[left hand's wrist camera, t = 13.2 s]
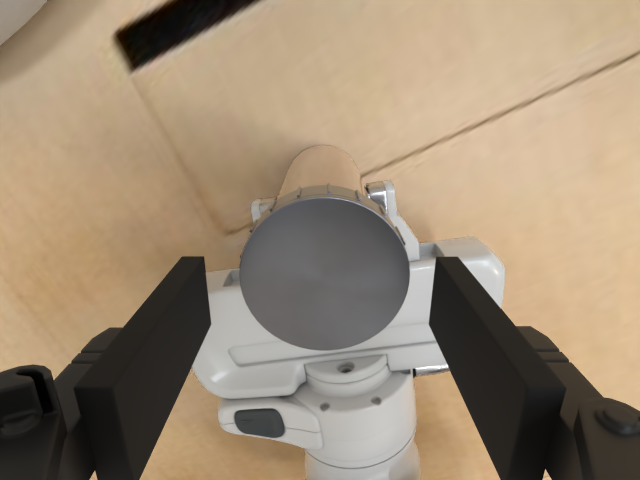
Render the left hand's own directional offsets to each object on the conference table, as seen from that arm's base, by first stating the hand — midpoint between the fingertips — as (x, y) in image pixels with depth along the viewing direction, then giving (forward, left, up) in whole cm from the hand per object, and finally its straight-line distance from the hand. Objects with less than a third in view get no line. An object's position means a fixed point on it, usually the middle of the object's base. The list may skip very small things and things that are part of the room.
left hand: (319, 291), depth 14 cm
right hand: (-1, 0, -10) cm, 10 cm away
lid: (0, 0, -1) cm, 1 cm away
